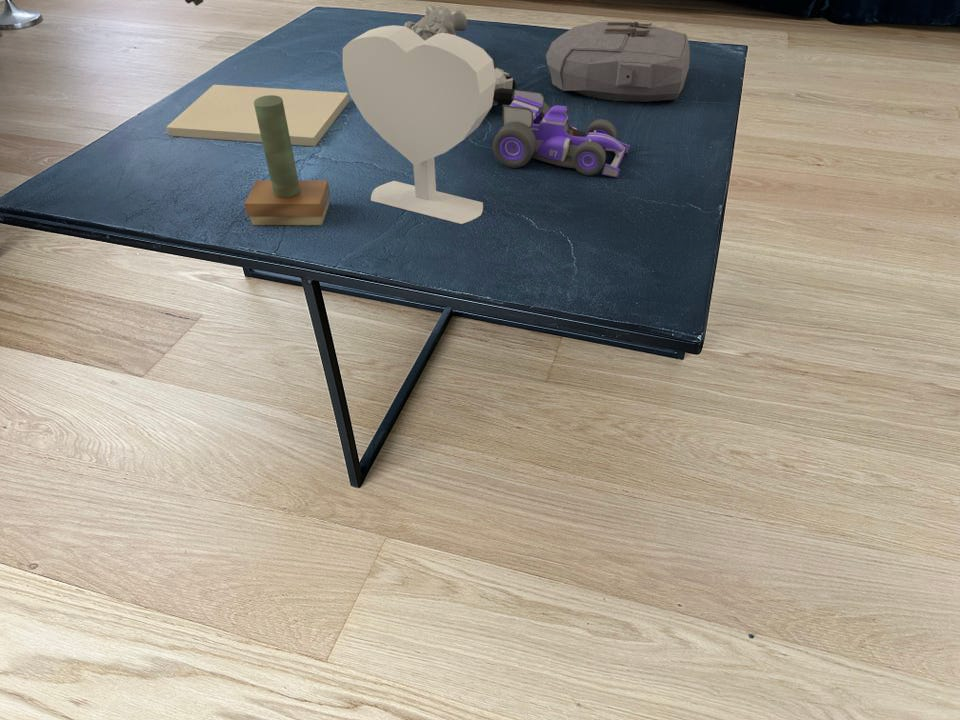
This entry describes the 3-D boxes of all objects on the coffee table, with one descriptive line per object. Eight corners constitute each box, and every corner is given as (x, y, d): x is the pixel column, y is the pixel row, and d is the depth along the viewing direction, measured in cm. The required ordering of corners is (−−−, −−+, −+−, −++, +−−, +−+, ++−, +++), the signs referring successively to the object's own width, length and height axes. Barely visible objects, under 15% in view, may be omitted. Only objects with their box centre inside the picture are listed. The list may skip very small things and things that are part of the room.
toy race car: (615, 184, 86) (622, 130, 82) (492, 165, 90) (491, 113, 86) (631, 148, 93) (638, 96, 88) (515, 131, 97) (516, 81, 92)
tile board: (168, 135, 97) (165, 127, 96) (215, 92, 107) (213, 84, 107) (315, 146, 94) (313, 137, 94) (349, 101, 105) (348, 92, 104)
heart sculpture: (498, 206, 83) (499, 38, 71) (478, 228, 80) (475, 56, 68) (379, 177, 88) (361, 16, 76) (355, 196, 85) (332, 32, 73)
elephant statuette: (395, 73, 112) (390, 19, 107) (422, 46, 120) (419, -6, 115) (454, 80, 110) (452, 25, 104) (477, 51, 118) (477, -1, 113)
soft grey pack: (687, 71, 111) (553, 60, 115) (697, 11, 105) (556, 2, 109) (682, 113, 100) (535, 100, 104) (693, 49, 94) (537, 38, 98)
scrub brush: (249, 226, 80) (220, 111, 72) (261, 202, 84) (234, 90, 76) (323, 226, 80) (303, 111, 72) (331, 202, 84) (313, 90, 75)
